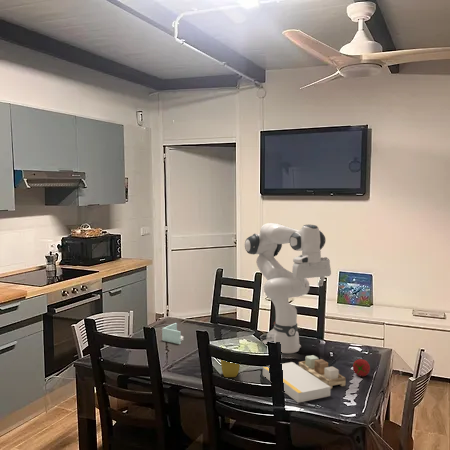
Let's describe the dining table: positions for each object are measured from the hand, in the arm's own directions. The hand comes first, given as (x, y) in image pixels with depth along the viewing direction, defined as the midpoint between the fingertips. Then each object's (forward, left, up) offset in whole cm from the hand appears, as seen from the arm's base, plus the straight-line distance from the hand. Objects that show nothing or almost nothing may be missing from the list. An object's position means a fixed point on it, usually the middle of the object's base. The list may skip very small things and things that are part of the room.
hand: (312, 286), depth 239 cm
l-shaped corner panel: (-60, -48, -40) cm, 87 cm away
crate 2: (+22, -4, -37) cm, 43 cm away
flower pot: (-3, -42, -39) cm, 57 cm away
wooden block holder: (+15, -4, -39) cm, 42 cm away
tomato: (+21, +14, -39) cm, 46 cm away
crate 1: (+7, -4, -37) cm, 37 cm away
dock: (+18, -20, -39) cm, 47 cm away
